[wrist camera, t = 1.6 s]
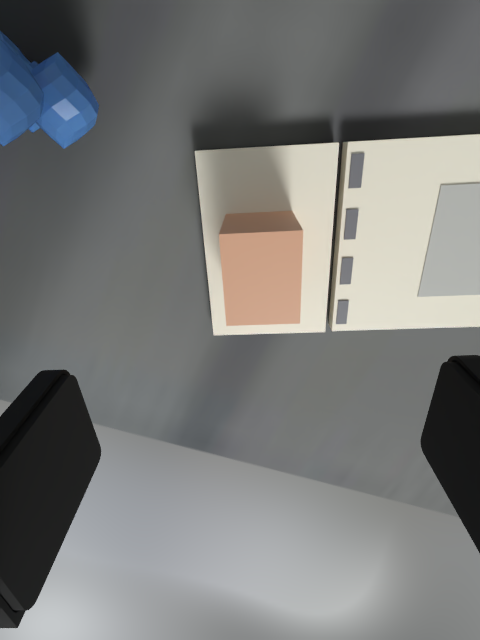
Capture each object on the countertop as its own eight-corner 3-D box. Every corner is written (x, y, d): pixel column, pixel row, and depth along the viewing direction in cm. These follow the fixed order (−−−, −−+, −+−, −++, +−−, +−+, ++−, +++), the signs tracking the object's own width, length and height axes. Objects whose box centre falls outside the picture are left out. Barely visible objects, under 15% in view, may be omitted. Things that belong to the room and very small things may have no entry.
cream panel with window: (633, 124, 19) (658, 123, 18) (552, 315, 24) (567, 324, 23) (342, 141, 20) (348, 142, 19) (328, 322, 25) (332, 331, 24)
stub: (334, 142, 20) (366, 143, 14) (321, 323, 25) (341, 374, 20) (197, 150, 20) (177, 154, 15) (215, 327, 26) (205, 377, 20)
